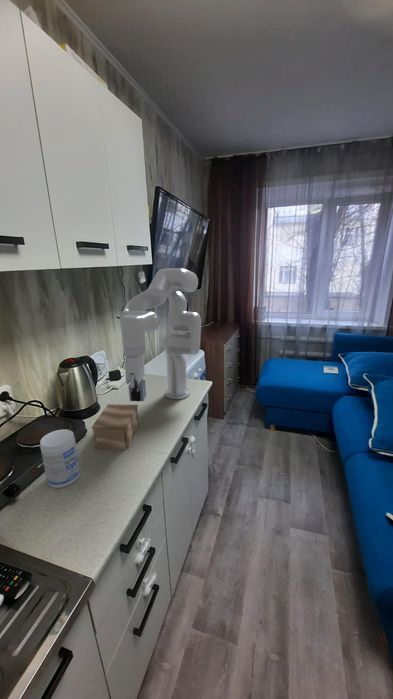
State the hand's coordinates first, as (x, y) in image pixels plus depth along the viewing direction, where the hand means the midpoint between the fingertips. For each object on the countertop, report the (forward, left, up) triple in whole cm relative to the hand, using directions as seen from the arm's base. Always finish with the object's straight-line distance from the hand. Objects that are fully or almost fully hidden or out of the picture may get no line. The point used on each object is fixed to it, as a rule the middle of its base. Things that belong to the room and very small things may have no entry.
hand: (138, 396), depth 105 cm
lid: (-1, -9, -9) cm, 13 cm away
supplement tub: (+22, -19, -18) cm, 34 cm away
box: (-1, -9, -17) cm, 20 cm away
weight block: (0, 0, -1) cm, 1 cm away
